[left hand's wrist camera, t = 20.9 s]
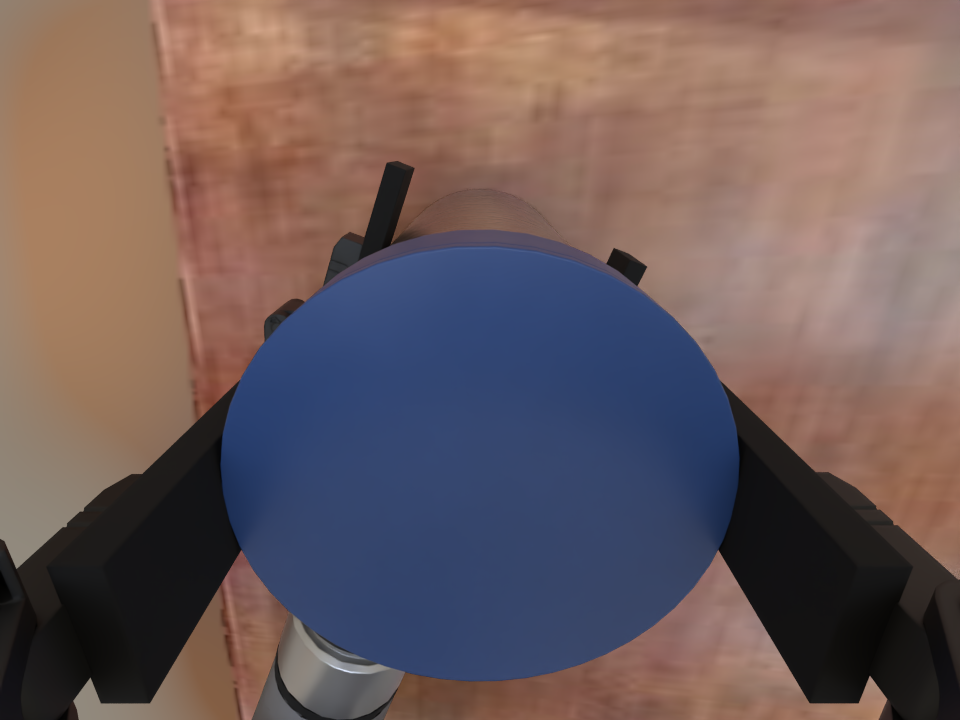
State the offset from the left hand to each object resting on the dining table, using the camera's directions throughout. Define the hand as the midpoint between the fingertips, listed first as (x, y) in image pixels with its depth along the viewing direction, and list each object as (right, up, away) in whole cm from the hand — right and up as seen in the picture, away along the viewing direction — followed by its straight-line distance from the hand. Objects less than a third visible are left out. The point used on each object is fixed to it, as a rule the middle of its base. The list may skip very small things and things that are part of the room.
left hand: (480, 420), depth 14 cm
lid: (0, -1, -3) cm, 3 cm away
